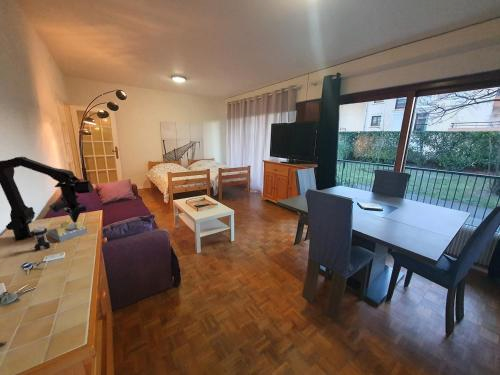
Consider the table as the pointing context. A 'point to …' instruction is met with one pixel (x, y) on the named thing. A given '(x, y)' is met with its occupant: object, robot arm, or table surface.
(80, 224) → the slider
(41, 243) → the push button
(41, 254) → the table surface
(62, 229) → the slider
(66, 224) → the slider
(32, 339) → the table surface
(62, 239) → the switch unit
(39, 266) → the table surface
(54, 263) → the table surface
